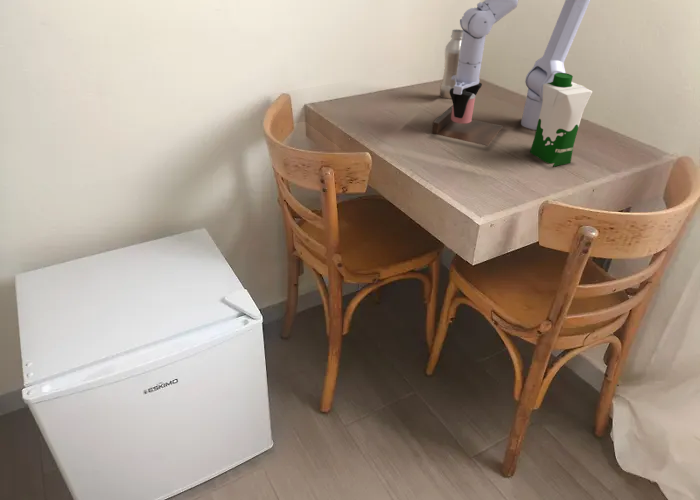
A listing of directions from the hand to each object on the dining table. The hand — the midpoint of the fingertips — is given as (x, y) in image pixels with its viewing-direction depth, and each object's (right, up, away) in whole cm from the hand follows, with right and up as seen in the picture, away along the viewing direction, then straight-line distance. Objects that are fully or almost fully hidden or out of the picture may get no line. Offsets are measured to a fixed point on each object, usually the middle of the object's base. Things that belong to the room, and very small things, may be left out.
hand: (462, 113), depth 142 cm
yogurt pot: (0, -1, +1) cm, 2 cm away
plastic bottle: (+1, +10, +24) cm, 26 cm away
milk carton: (+19, -14, -10) cm, 26 cm away
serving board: (+2, -5, +2) cm, 6 cm away
